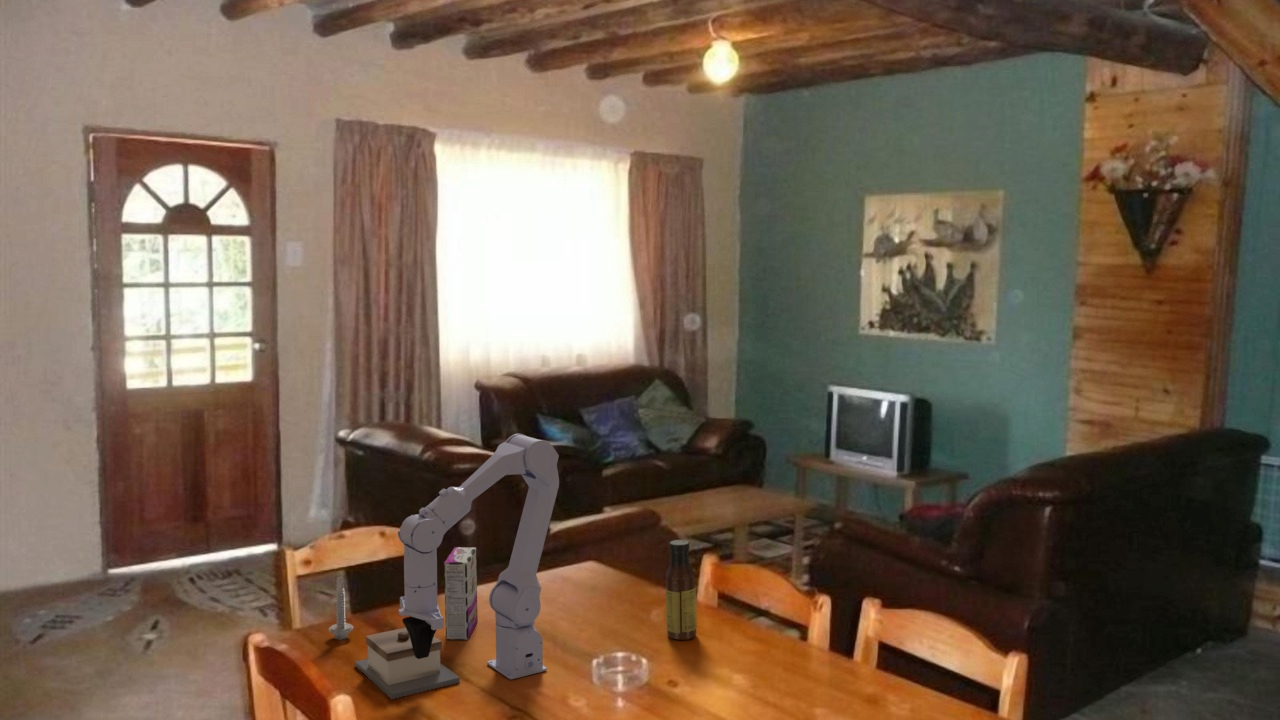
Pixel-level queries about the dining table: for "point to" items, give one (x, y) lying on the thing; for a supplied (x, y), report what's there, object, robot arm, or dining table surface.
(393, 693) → the board
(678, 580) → the sauce bottle
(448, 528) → the robot arm
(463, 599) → the candy bar box
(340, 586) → the screw
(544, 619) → the dining table surface
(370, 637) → the lid
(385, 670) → the open grey box
